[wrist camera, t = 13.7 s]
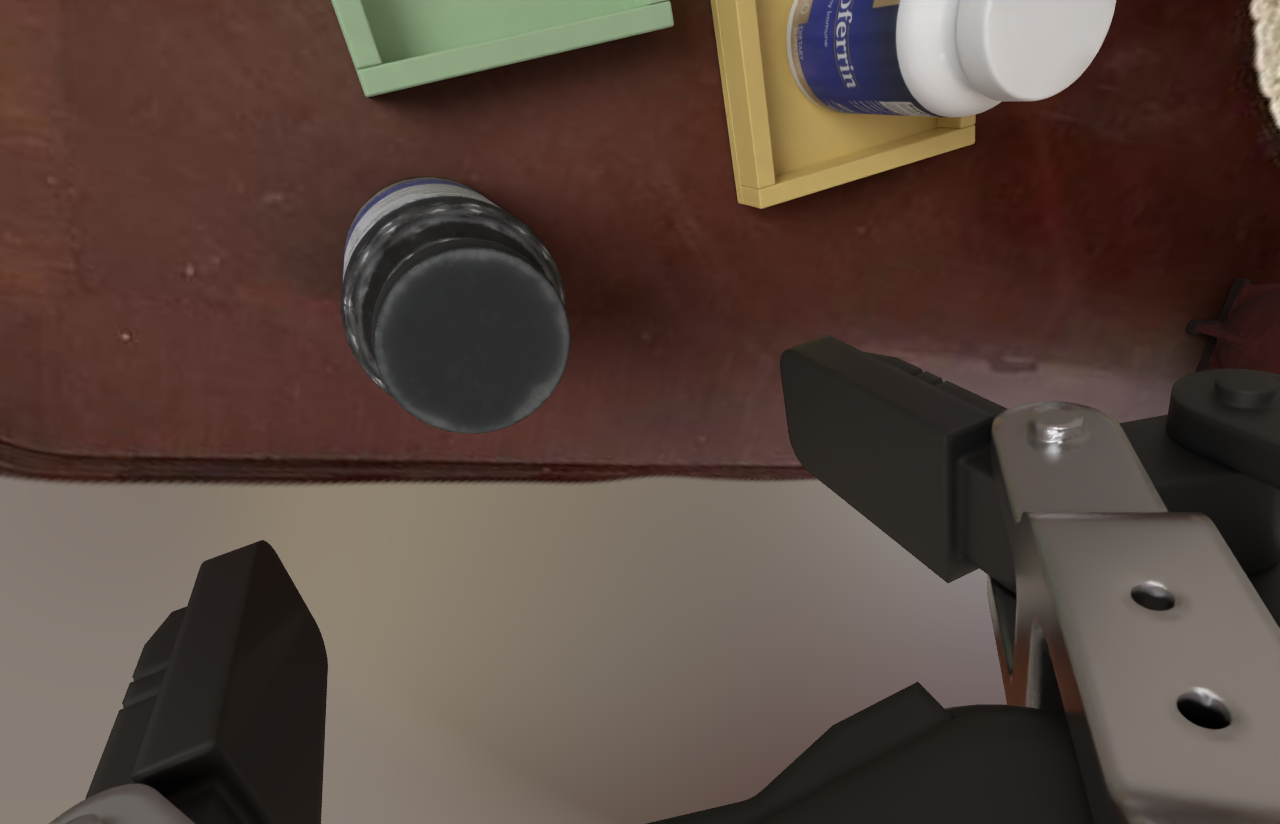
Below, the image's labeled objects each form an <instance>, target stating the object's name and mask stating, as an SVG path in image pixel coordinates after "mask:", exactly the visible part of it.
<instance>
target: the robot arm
mask: <svg viewBox="0 0 1280 824" xmlns="http://www.w3.org/2000/svg"><path fill="white" fill-rule="evenodd" d="M780 370H781V378H782V385H783V393H784V401H785V409H786V417H787V425H788V433H789V438H790V442H791V445H792V448H793V450H794V453H795V455H796V456H797V458H798V460H799V461H800V463H801V464H802V465H803V467H804V468H805V469H806V470H807V471H809V472H810V473H811V474H812V475H814V476H815V477H816V478H817V479H819V480H820V481H821V482H822V483H823V484H825V485H826V486H827V487H828V488H830V489H831V490H832V491H833V492H835V493H836V494H837V495H838V496H840V497H841V498H842V499H844V500H845V501H846V502H847V503H848V504H850V505H851V506H852V507H853V508H855V509H856V510H857V511H859V512H860V513H861V514H862V515H863V516H865V517H866V518H867V519H868V520H870V521H871V522H872V523H873V524H875V525H876V526H877V527H878V528H880V529H881V530H882V531H883V532H885V533H886V534H887V535H888V536H890V537H891V538H892V539H894V540H895V541H896V542H897V543H898V544H900V545H901V546H902V547H903V548H905V549H906V550H907V551H908V552H910V553H911V554H912V555H913V556H915V557H916V558H917V559H918V560H920V561H921V562H922V563H923V564H925V565H926V566H927V567H928V568H929V569H931V570H932V571H933V572H934V573H936V574H937V575H938V576H939V577H941V578H942V579H943V580H944V581H946V582H947V583H950V582H952V581H954V580H956V579H958V578H960V577H962V576H964V575H966V574H968V573H970V572H973V571H974V570H977V569H979V568H980V569H981V570H983V571H984V572H985V573H987V574H988V581H987V595H988V601H989V606H990V612H991V618H992V623H993V629H994V634H995V639H996V644H997V650H998V656H999V661H1000V667H1001V672H1002V678H1003V683H1004V689H1005V694H1006V701H1007V705H968V706H959V707H951V708H946V709H944V708H943V707H942V706H941V705H940V704H939V703H938V702H937V701H936V700H935V699H934V698H933V697H932V696H931V695H930V694H929V693H928V692H927V691H926V690H925V688H923V686H922V685H921V684H920V683H919V682H916V683H915V684H913V685H911V686H909V687H907V688H905V689H903V690H901V691H899V692H897V693H895V694H893V695H891V696H889V697H887V698H885V699H883V700H881V701H879V702H877V703H876V704H874V705H872V706H870V707H868V708H866V709H864V710H862V711H860V712H858V713H856V714H854V715H852V716H850V717H848V718H846V719H845V720H843V721H840V722H839V723H837V724H835V725H833V726H832V727H831V728H829V730H827V732H825V733H824V734H823V735H822V736H821V737H820V738H819V739H818V740H816V741H815V742H814V743H813V744H812V745H811V746H810V747H809V748H808V749H807V750H806V751H804V753H802V754H801V755H800V756H799V757H798V758H797V759H796V760H795V761H794V762H793V763H792V764H790V765H789V766H788V767H787V768H786V769H785V770H784V771H783V772H782V773H781V774H780V775H778V777H776V778H775V779H774V780H773V781H772V782H771V783H770V784H769V785H768V786H766V787H765V788H764V789H763V790H762V791H761V792H760V793H758V794H757V795H756V796H754V797H752V798H750V799H748V800H745V801H742V802H738V803H734V804H729V805H725V806H720V807H716V808H712V809H708V810H704V811H699V812H695V813H690V814H686V815H682V816H677V817H673V818H669V819H665V820H660V821H656V822H652V823H647V824H1280V375H1279V374H1275V373H1270V372H1265V371H1258V370H1250V369H1230V368H1227V369H1212V370H1204V371H1199V372H1195V373H1192V374H1188V375H1186V376H1184V377H1182V378H1180V379H1179V380H1177V381H1176V382H1175V383H1174V385H1173V387H1172V392H1171V398H1170V404H1169V411H1168V415H1163V416H1158V417H1152V418H1147V419H1141V420H1136V421H1130V422H1125V423H1118V422H1117V421H1116V420H1115V419H1114V418H1112V417H1111V416H1109V415H1107V414H1106V413H1104V412H1102V411H1099V410H1097V409H1094V408H1091V407H1088V406H1084V405H1080V404H1075V403H1068V402H1056V401H1044V402H1032V403H1026V404H1022V405H1018V406H1015V407H1012V408H1009V409H1007V408H1004V407H1002V406H1000V405H998V404H996V403H994V402H992V401H989V400H987V399H985V398H983V397H981V396H979V395H976V394H974V393H972V392H970V391H968V390H966V389H963V388H961V387H959V386H957V385H955V384H953V383H950V382H948V381H945V382H943V381H942V378H940V377H937V376H935V375H933V374H931V373H929V372H927V371H926V372H922V370H921V369H920V368H918V367H916V366H914V365H912V364H909V363H907V362H905V361H903V360H901V359H899V358H895V357H890V356H884V355H879V354H873V353H868V352H863V351H860V350H858V349H856V348H854V347H852V346H850V345H848V344H846V343H844V342H842V341H840V340H838V339H836V338H833V337H831V336H823V337H820V338H817V339H815V340H812V341H809V342H806V343H804V344H801V345H798V346H795V347H793V348H790V349H787V350H785V351H784V352H783V353H782V355H781V360H780ZM327 672H328V662H327V654H326V650H325V645H324V641H323V638H322V635H321V633H320V630H319V628H318V626H317V624H316V622H315V620H314V618H313V616H312V615H311V613H310V611H309V609H308V608H307V606H306V604H305V602H304V601H303V599H302V597H301V595H300V594H299V592H298V590H297V588H296V587H295V585H294V583H293V581H292V580H291V578H290V576H289V574H288V573H287V571H286V569H285V567H284V566H283V564H282V562H281V560H280V559H279V557H278V555H277V554H276V552H275V550H274V549H273V548H272V546H271V545H270V544H269V543H267V542H266V541H264V540H262V541H259V542H256V543H253V544H250V545H248V546H245V547H242V548H240V549H237V550H234V551H231V552H228V553H225V554H223V555H220V556H217V557H215V558H212V559H209V560H206V561H204V562H203V563H202V565H201V567H200V570H199V572H198V575H197V578H196V582H195V585H194V588H193V591H192V594H191V597H190V600H189V603H188V606H187V607H185V608H182V609H179V610H176V611H174V612H172V613H171V614H170V615H169V616H168V618H167V619H166V620H165V621H164V622H163V624H162V625H161V626H160V627H159V628H158V630H157V631H156V632H155V633H154V634H153V636H152V637H151V638H150V639H149V640H148V642H147V643H146V644H145V645H144V648H143V650H142V653H141V656H140V658H139V661H138V664H137V666H136V669H135V671H134V674H133V679H134V682H131V683H130V684H129V687H128V689H127V692H126V695H125V697H124V700H123V702H122V704H123V707H124V709H121V710H120V711H119V713H118V715H117V718H116V720H115V724H114V726H113V729H112V731H111V733H110V736H109V739H108V741H107V744H106V747H105V749H104V752H103V754H102V757H101V760H100V762H99V765H98V767H97V770H96V772H95V775H94V778H93V780H92V783H91V785H90V788H89V791H88V793H87V796H86V799H85V800H84V801H82V802H80V803H78V804H76V805H75V806H73V807H72V808H70V809H69V810H67V811H66V812H64V813H63V814H61V815H60V816H59V817H57V818H56V819H55V820H53V821H52V822H51V823H50V824H321V807H322V784H323V783H322V782H323V763H324V762H323V760H324V740H325V717H326V695H327V694H326V692H327Z"/></svg>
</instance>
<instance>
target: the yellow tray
mask: <svg viewBox="0 0 1280 824" xmlns="http://www.w3.org/2000/svg"><path fill="white" fill-rule="evenodd" d="M793 2H794V0H711V8H712V15H713V22H714V30H715V37H716V44H717V52H718V59H719V67H720V74H721V81H722V89H723V96H724V103H725V111H726V118H727V125H728V133H729V140H730V148H731V155H732V162H733V170H734V177H735V184H736V192H737V199H738V203H740V204H745V205H749V206H752V207H756V208H760V209H763V208H766V207H770V206H773V205H776V204H779V203H783V202H786V201H789V200H792V199H796V198H799V197H802V196H805V195H809V194H812V193H815V192H818V191H822V190H825V189H828V188H831V187H835V186H838V185H841V184H845V183H848V182H851V181H854V180H858V179H861V178H864V177H867V176H871V175H874V174H877V173H880V172H884V171H887V170H890V169H893V168H897V167H900V166H903V165H906V164H910V163H913V162H916V161H919V160H923V159H926V158H929V157H933V156H936V155H939V154H942V153H946V152H949V151H952V150H955V149H959V148H962V147H965V146H968V145H972V144H974V143H975V125H974V124H975V120H976V115H972V116H967V117H927V116H897V115H876V114H851V113H838V112H832V111H829V110H826V109H823V108H821V107H819V106H817V105H816V104H814V103H813V102H812V101H810V100H809V99H808V98H807V97H806V96H805V95H804V94H803V92H802V91H801V90H800V89H799V87H798V85H797V84H796V82H795V80H794V78H793V75H792V72H791V69H790V66H789V62H788V56H787V44H786V34H787V24H788V18H789V14H790V11H791V8H792V4H793Z"/></svg>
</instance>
